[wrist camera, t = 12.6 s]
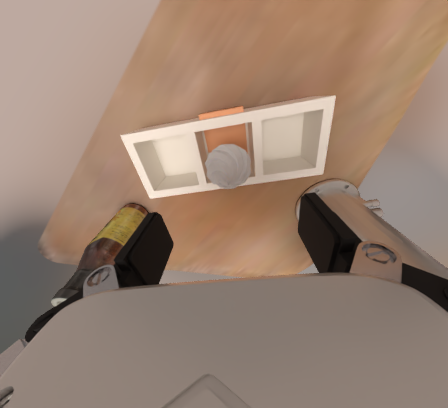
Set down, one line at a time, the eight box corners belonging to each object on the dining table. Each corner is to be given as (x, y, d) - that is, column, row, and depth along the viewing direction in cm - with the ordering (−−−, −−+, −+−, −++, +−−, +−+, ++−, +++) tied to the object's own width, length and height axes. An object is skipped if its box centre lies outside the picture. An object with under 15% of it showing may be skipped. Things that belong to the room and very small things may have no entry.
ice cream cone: (223, 121, 26) (219, 142, 14) (250, 142, 28) (270, 177, 15) (205, 151, 29) (189, 191, 16) (231, 168, 30) (235, 217, 18)
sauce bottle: (121, 199, 36) (28, 286, 19) (150, 205, 37) (85, 294, 20) (123, 222, 39) (47, 313, 23) (150, 227, 40) (95, 319, 23)
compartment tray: (311, 91, 25) (337, 89, 19) (304, 159, 31) (323, 174, 25) (141, 124, 28) (118, 130, 22) (163, 181, 33) (149, 198, 28)
